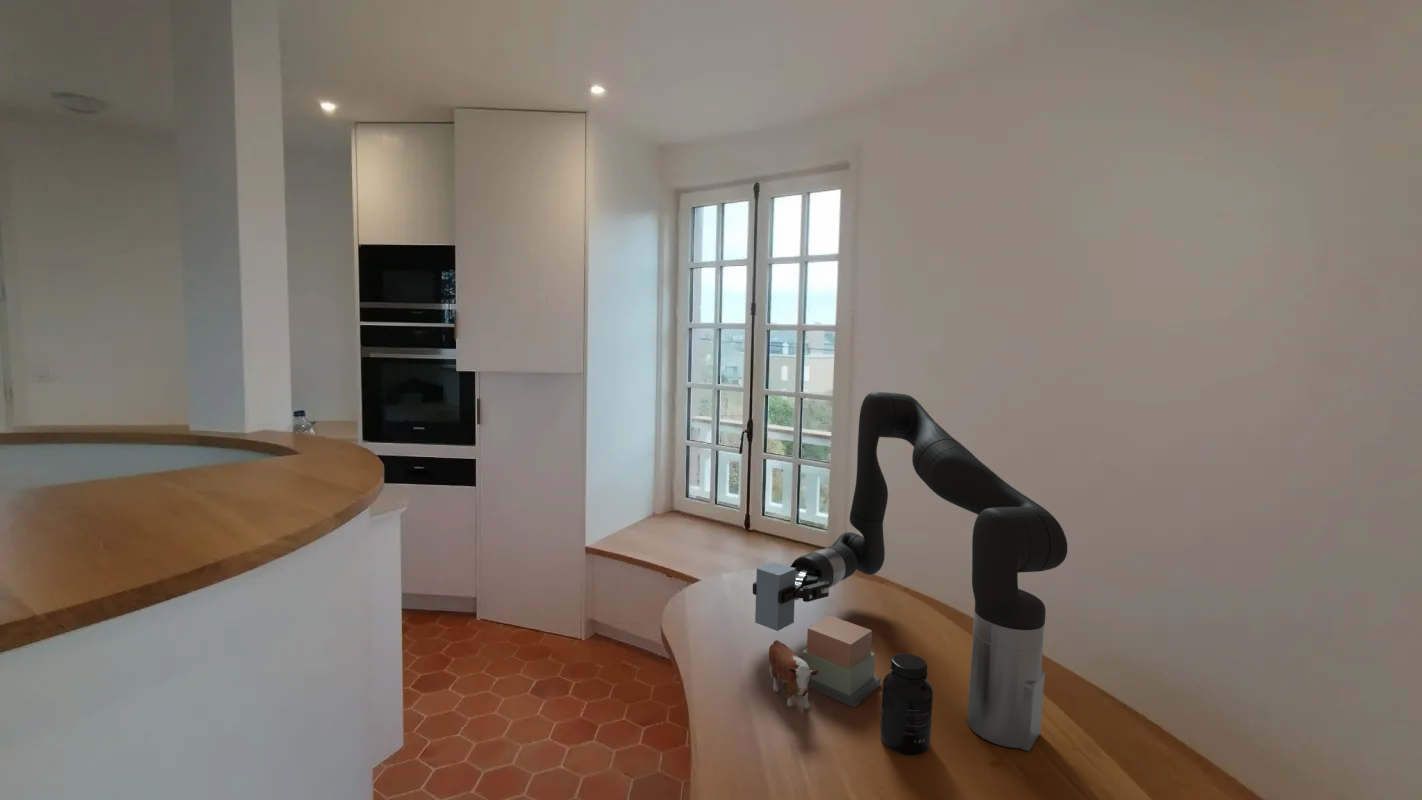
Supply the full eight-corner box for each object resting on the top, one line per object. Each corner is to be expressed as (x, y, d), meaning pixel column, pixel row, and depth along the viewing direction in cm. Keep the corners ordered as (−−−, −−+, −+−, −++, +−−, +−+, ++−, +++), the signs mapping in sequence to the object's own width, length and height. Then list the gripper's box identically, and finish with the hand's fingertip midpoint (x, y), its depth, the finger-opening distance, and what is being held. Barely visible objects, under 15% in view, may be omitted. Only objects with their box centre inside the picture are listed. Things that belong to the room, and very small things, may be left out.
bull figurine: (795, 727, 90) (797, 673, 90) (763, 679, 103) (765, 632, 103) (822, 723, 91) (824, 670, 91) (787, 676, 104) (789, 629, 104)
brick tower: (880, 685, 102) (883, 631, 102) (853, 707, 96) (856, 650, 95) (823, 661, 110) (825, 611, 109) (794, 680, 103) (796, 627, 102)
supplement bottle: (870, 731, 90) (874, 651, 89) (910, 724, 92) (915, 646, 91) (897, 761, 83) (902, 676, 82) (940, 753, 85) (945, 669, 84)
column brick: (793, 622, 112) (795, 568, 112) (777, 631, 109) (779, 575, 108) (771, 614, 116) (773, 562, 115) (755, 622, 112) (756, 568, 111)
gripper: (789, 544, 127) (736, 563, 114) (851, 560, 117) (801, 583, 105) (787, 580, 127) (735, 603, 115) (850, 599, 118) (799, 626, 105)
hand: (767, 593), depth 110 cm, fingers closed on column brick, 5 cm apart
